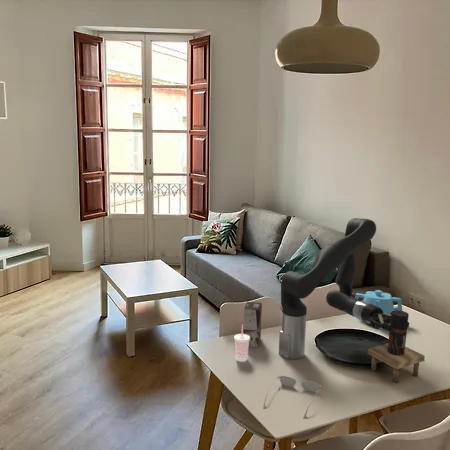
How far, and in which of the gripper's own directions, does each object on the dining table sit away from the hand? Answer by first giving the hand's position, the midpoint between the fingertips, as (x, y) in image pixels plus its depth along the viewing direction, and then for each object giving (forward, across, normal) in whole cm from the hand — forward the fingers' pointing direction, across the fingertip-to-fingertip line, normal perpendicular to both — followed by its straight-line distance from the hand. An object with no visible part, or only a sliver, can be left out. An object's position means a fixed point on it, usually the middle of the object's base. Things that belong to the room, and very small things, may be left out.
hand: (400, 327), depth 191 cm
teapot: (-41, +32, +18) cm, 55 cm away
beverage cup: (-37, -44, +18) cm, 60 cm away
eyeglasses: (-3, -46, +19) cm, 50 cm away
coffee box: (-48, -32, +18) cm, 60 cm away
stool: (-1, 0, +18) cm, 18 cm away
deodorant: (-1, 0, +10) cm, 10 cm away
